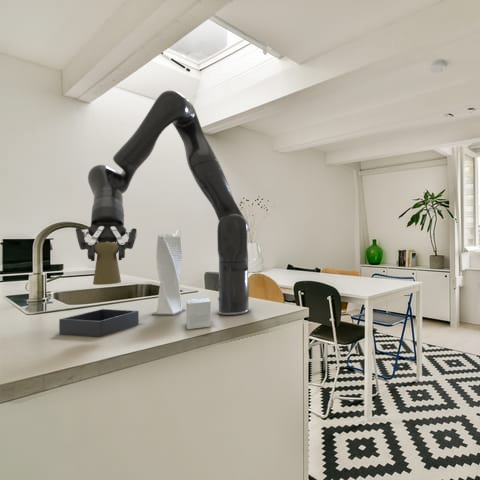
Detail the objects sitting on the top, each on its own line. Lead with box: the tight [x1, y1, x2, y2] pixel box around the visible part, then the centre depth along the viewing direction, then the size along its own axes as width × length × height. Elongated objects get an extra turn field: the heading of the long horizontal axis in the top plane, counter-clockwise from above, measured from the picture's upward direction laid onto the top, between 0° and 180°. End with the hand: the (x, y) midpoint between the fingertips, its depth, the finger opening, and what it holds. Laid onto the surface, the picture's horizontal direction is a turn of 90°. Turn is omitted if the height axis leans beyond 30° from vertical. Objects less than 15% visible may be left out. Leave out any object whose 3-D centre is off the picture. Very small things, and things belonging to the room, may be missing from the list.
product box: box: [185, 297, 212, 330], centre depth 96 cm, size 6×6×7 cm
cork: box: [92, 242, 122, 286], centre depth 89 cm, size 6×6×11 cm
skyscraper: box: [151, 228, 186, 316], centre depth 110 cm, size 8×8×28 cm
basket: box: [58, 308, 140, 338], centre depth 92 cm, size 12×12×4 cm
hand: (106, 258), depth 88 cm, fingers closed on cork, 5 cm apart
